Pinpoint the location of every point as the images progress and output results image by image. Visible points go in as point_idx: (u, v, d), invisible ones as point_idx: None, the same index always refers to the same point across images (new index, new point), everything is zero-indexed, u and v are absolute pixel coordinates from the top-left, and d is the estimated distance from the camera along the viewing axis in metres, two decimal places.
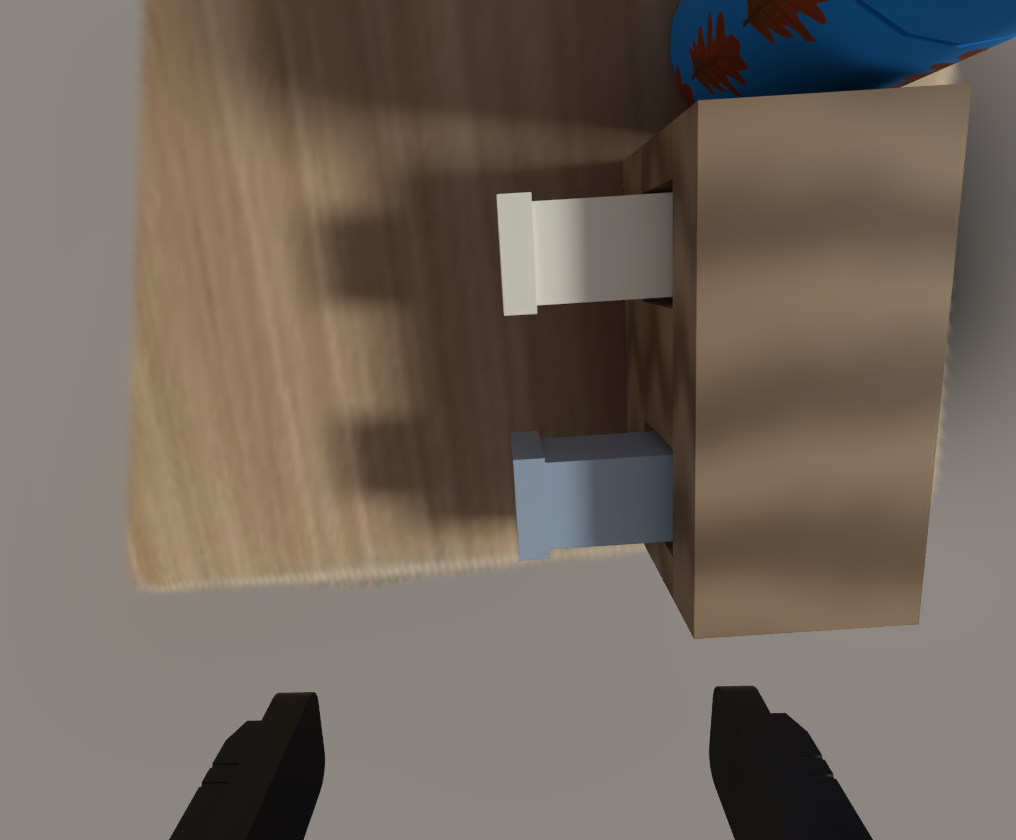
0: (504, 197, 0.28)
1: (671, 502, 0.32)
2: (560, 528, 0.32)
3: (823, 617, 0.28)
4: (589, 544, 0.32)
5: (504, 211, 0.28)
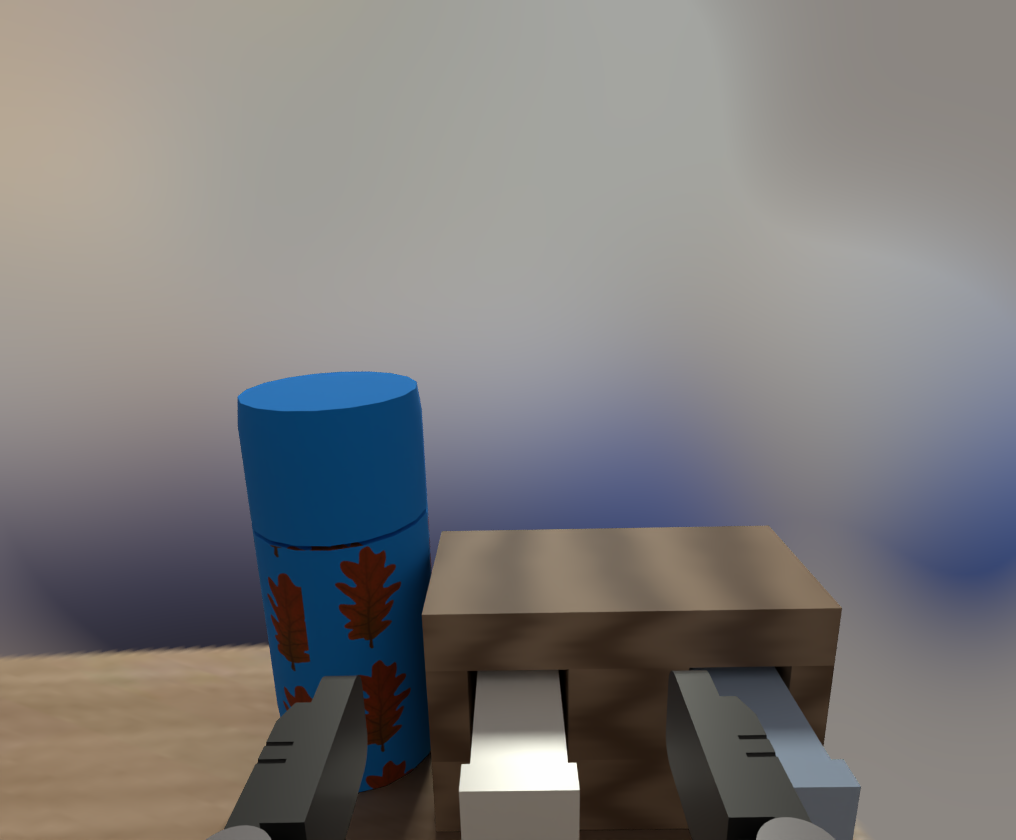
0: (462, 785, 0.28)
1: (742, 677, 0.35)
2: (804, 755, 0.30)
3: (784, 556, 0.39)
4: (811, 732, 0.31)
5: (476, 785, 0.28)
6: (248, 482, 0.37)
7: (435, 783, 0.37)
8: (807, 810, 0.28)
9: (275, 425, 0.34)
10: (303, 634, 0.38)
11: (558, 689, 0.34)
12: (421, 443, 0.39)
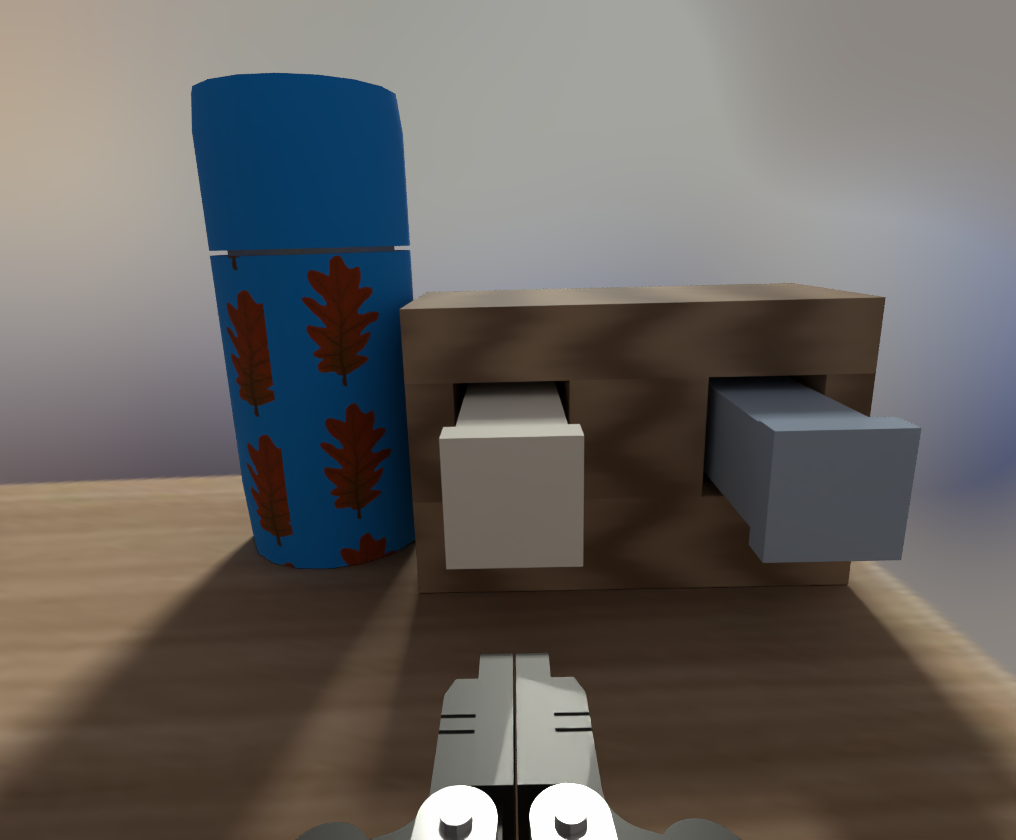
0: (444, 436, 0.23)
1: (769, 390, 0.30)
2: None
3: (813, 288, 0.35)
4: (855, 411, 0.26)
5: (460, 435, 0.23)
6: (203, 186, 0.32)
7: (417, 530, 0.32)
8: (856, 462, 0.23)
9: (230, 94, 0.30)
10: (267, 365, 0.33)
11: (558, 399, 0.30)
12: (402, 162, 0.35)
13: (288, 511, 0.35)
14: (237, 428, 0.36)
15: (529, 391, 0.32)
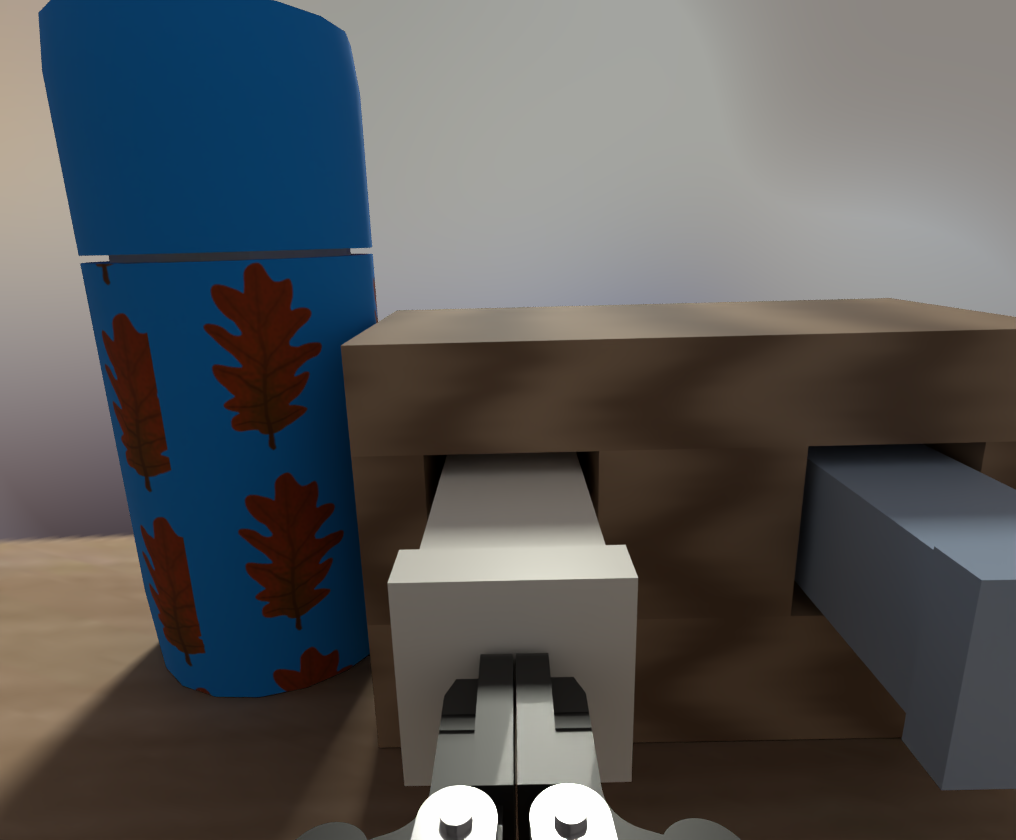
0: (397, 576, 0.14)
1: (897, 465, 0.20)
2: None
3: (937, 307, 0.25)
4: None
5: (425, 575, 0.14)
6: (61, 162, 0.22)
7: (374, 663, 0.22)
8: None
9: (84, 19, 0.20)
10: (158, 421, 0.23)
11: (580, 477, 0.20)
12: (356, 130, 0.25)
13: (197, 622, 0.25)
14: (128, 503, 0.26)
15: (537, 459, 0.22)
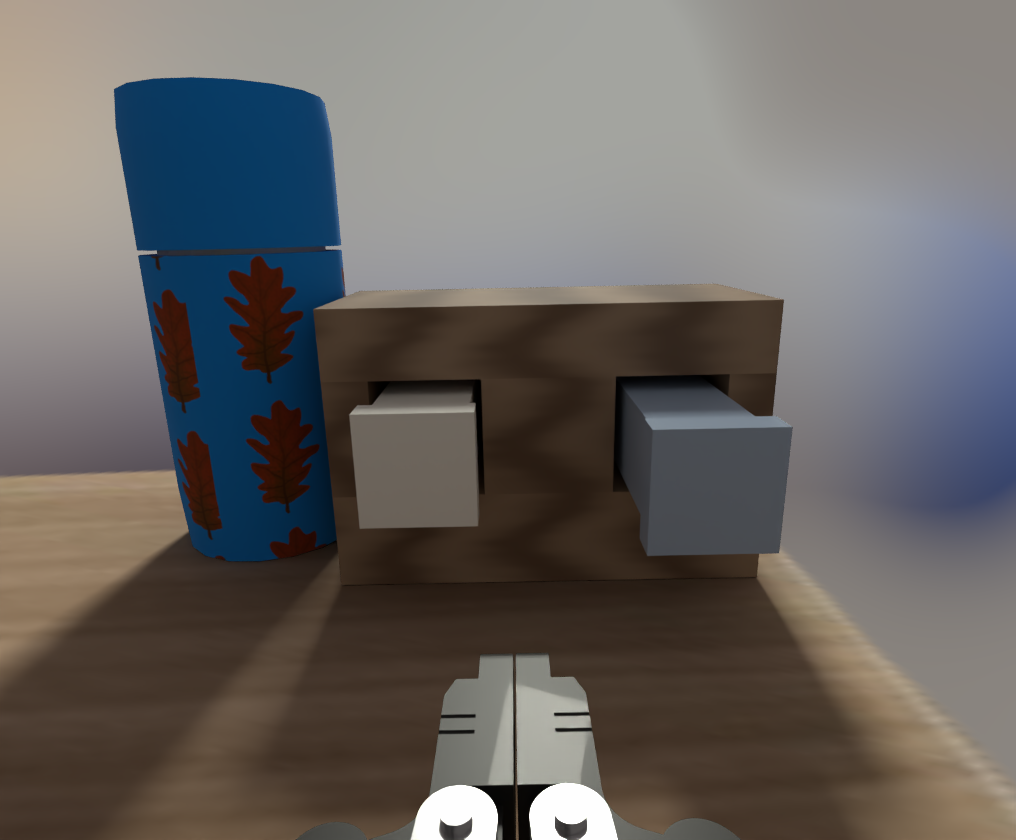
0: (354, 413, 0.27)
1: (675, 389, 0.31)
2: None
3: (729, 289, 0.36)
4: (745, 410, 0.27)
5: (368, 412, 0.27)
6: (127, 187, 0.33)
7: (338, 524, 0.33)
8: (732, 459, 0.24)
9: (148, 98, 0.30)
10: (192, 363, 0.34)
11: (471, 383, 0.34)
12: (327, 164, 0.35)
13: (217, 505, 0.36)
14: (168, 424, 0.36)
15: None
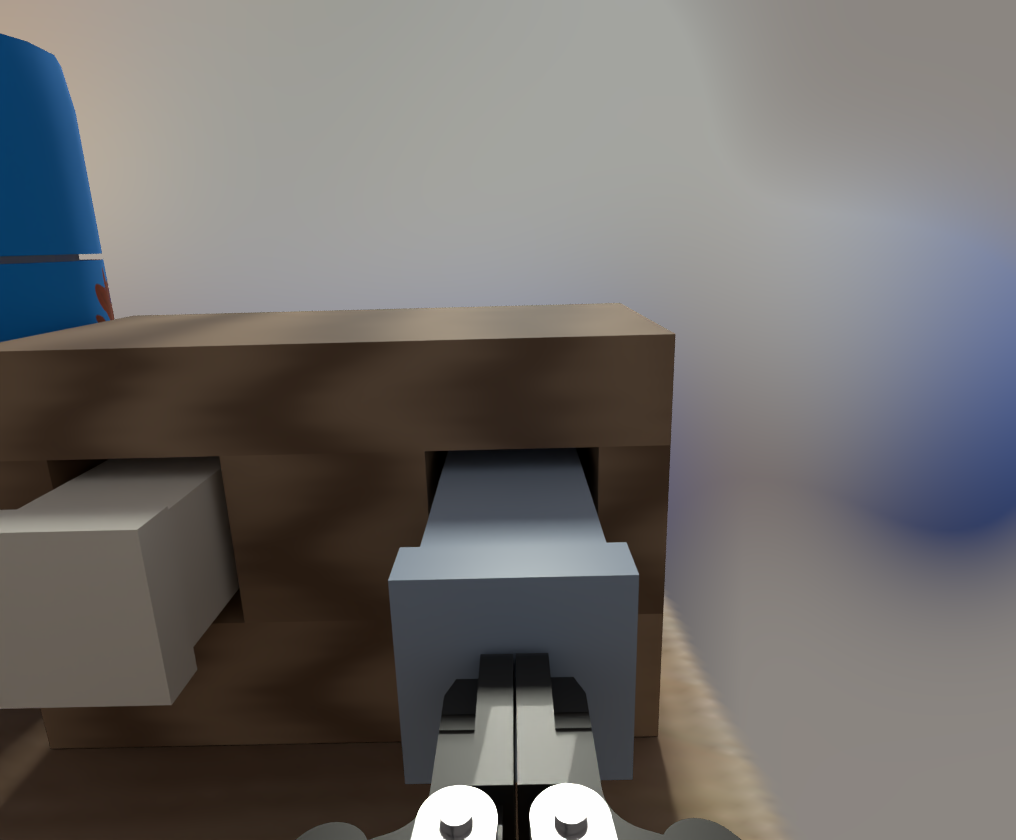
0: None
1: (517, 468, 0.21)
2: None
3: (621, 313, 0.25)
4: (594, 519, 0.17)
5: None
6: None
7: None
8: (536, 629, 0.14)
9: None
10: None
11: None
12: (47, 139, 0.25)
13: None
14: None
15: None
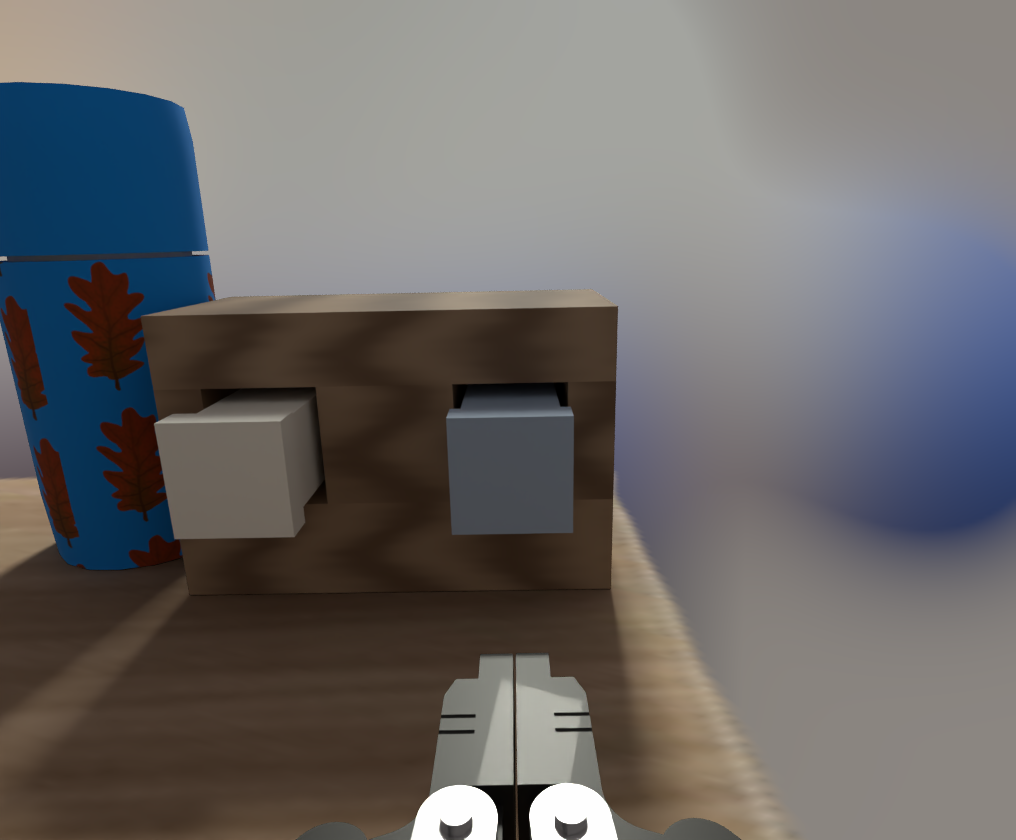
0: (162, 421, 0.27)
1: (514, 384, 0.34)
2: None
3: (589, 295, 0.35)
4: (556, 402, 0.30)
5: (175, 421, 0.27)
6: None
7: None
8: (521, 446, 0.27)
9: None
10: (37, 370, 0.33)
11: None
12: (182, 169, 0.35)
13: (72, 513, 0.35)
14: (26, 431, 0.36)
15: None
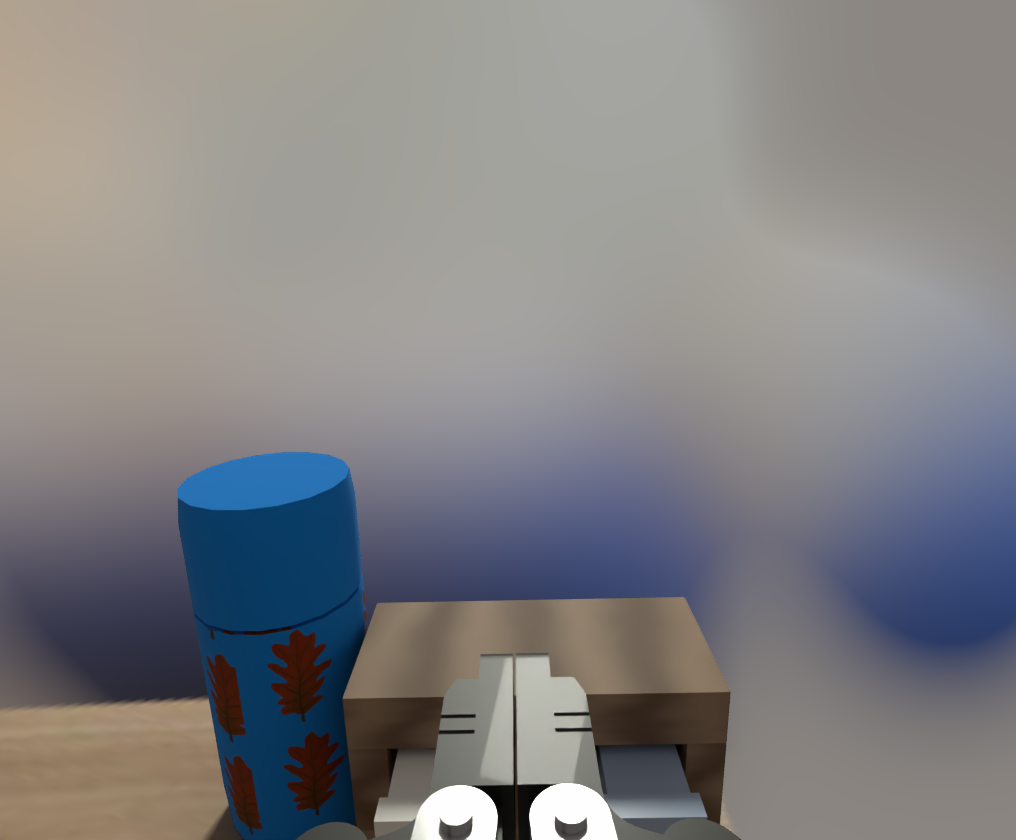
0: (377, 816, 0.34)
1: None
2: (669, 788, 0.35)
3: (691, 632, 0.42)
4: (680, 768, 0.37)
5: (389, 816, 0.34)
6: (186, 569, 0.40)
7: None
8: None
9: (207, 522, 0.37)
10: (239, 710, 0.40)
11: None
12: (352, 528, 0.42)
13: (258, 813, 0.42)
14: (216, 739, 0.43)
15: None
